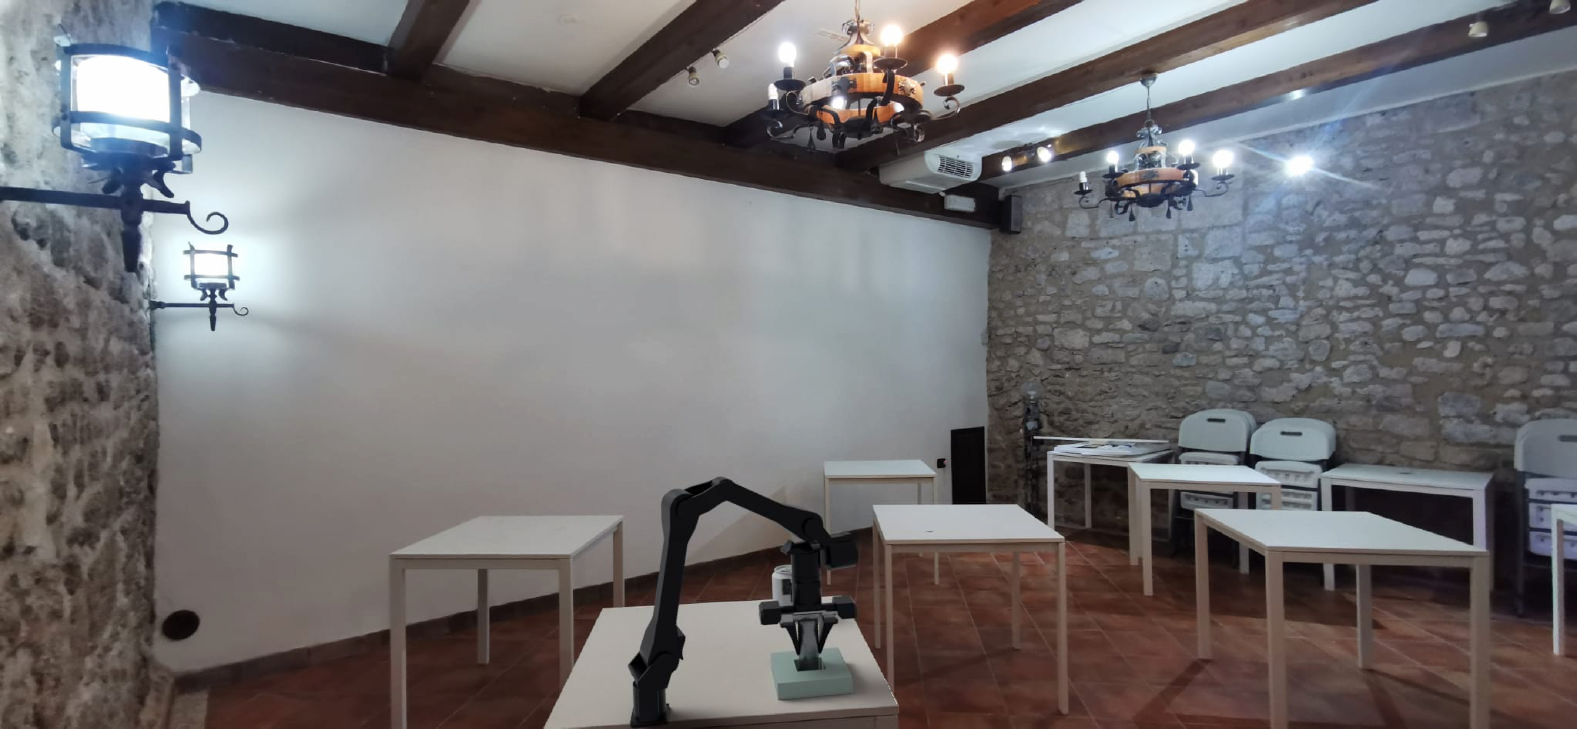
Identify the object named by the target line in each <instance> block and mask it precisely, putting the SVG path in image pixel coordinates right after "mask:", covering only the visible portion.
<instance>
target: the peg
mask: <svg viewBox="0 0 1577 729" xmlns="http://www.w3.org/2000/svg"><path fill="white" fill-rule="evenodd" d="M796 621H797V637H798V644H799V671H812V670H820V667H819V637H818V636H819V616H817V615H816V614H810V615H801V616H799V617H798V618H797V620H796Z"/></svg>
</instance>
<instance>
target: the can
mask: <svg viewBox="0 0 1577 729" xmlns="http://www.w3.org/2000/svg"><path fill="white" fill-rule="evenodd" d="M773 570H774V572H773V573H772V575H771V583H772V585H771V586H772V587H771V589H772V601H778V602H779V605H780V606H791V605H793V603H791V599H790V595H782V591H781V579H791V583H792V571H791V564H784V565H779V566H776V567H775V568H774V569H773ZM799 616H801V615H797V616H794V621H795V622H796V621H797V618H798V617H799Z"/></svg>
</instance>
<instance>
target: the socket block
mask: <svg viewBox="0 0 1577 729" xmlns="http://www.w3.org/2000/svg"><path fill="white" fill-rule="evenodd" d="M819 667H820V670H812V671H799V656H797V654H796V651H795V650H789V651H779V652H778V651H777V652H770V670H771V675H772V677H773V678H772V679H773V683H774V688H775V691H776V692H775V693H776V696H777V700H778V701H779V700H780V701H781V700H791V699H801V698H813V697H814V698H815V697H821V696H822V697H823V696H834V695H844V694H853V693H854V690H853V687H854V686H853V675H852V673H851V672H850V670H849V668H848V665H847V663H846V661H845V659H844V656H843V654H842V652H841V650H840V648H839V647H828V648H827V647H826V648H825V647H823V650H822V653H821V654H819Z"/></svg>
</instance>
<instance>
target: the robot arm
mask: <svg viewBox="0 0 1577 729" xmlns="http://www.w3.org/2000/svg"><path fill="white" fill-rule="evenodd" d="M725 502H729V503H731V504H733V505H736V506H738V507H739V508H742V509H745V510H747V511H749V512H752V513H754V514H757V515H759V516H761V517H763V518H766V519H768V520H770V521H772V522H774V523H775V524H776V525H778V526H779V527H780V528H781V529H784V530H785V531H786V532H788V533H789V534H790V535H792V536H794V537H796V538H798V539H800V540H801V541H799V542H794V541H793V540H791V539H787V541H786V543H784V544H783V545H781V547H780V548H779V550H780V552H781V553H783V554H785V555H786V556H790V565H791V571H792V583H791V579H781V591H782V595H790V599H791V603H793V605H791V606H780V605H779V602H778V601H773V600H767V601H760V603H759V604H758V617H759V618H758V619H759V621H760V622H759V623H760V625H762V626H771V625H775V626H776V625H778V624H779V626H780V628H781V629H786V631H787V633H788V635H789V637H790V639H791V641H792V645H793V648H794V651H796V654H797V656H799V644H798V629H797V624H796V620H795V621H794V616H797V615H810V614H811V615H818V637H819V654H821V653H822V650H823V649H824V648H825V644H826V642H827V639H828V636H829V634H830V632H831V630H832V628H833V627H834V625H837V624H839V619H838V618H840V619H841V620H850V619H856V618H858V607H857V604H856V602H855V600H854V598H852V596H851V595H837V596H832V599H831V602H823V599H822V598H823V597H822V574H821V573H822V570H821V569H822V568H821V567H824V568H825V570H827V571H828V572H829V571H834V570H842V569H846V568H854V567H856V566H857V565H858V563H859V557H860V556H859V551H858V548H857V545H856V542H855V541H854V539H853V533H850V532H849V531H844V532H840V533H838V534H837V533H836V534H830V533H829V532H828V531H827V529H826V528H825V527H824V521H823V517H822V516H821V515H820V514H819V513H818V512H815V511H813V510H810V509H808V508H804V507H802V506H797V505H794V504H793V505H792V504H789V503H783V502H778V501H776V500H774V499H771V498H769V497H767V496H765V495H762V494H761V493H758V492H755V491H754V490H751V489H749V488H747V487H745V486H742V485H740V484H738V483H736V482H734V480H732V479H731V478H728V477H725V476H722V475H721V476H717V477H715V478H713V479H710V480H708V481H705V482H701V483H698V484H694V485H691V486H689V487H685V488H684V489H682V488H673V489H670V490H669V491H667V492H666V493H665V494H664V495H663V497H662V499H661V502H660V510H661V511H660V512H661V514H660V515H661V516H660V517H661V518H660V520H661V528H662V533H663V534H662V535H663V543H662V549H661V550H662V551H661V558H660V563H659V564H660V565H659V569H658V570H659V571H658V576H657V577H658V578H657V586H656V591H655V599H654V607H653V611H652V612H653V613H652V617H651V619H650V622H649V623H648V624H647V627H646V628H645V630H644V634H643V638H642V640H641V643H640V645H639V650H638V652H637V653H636V654H635V656H633V658H632V659H631V660H630V661H629V663H628V664H627V667H628V670H629V672H630V675H631V676H632V678H633V681H632V700H633V701H632V704H633V705H632V710H631V716H630V720H629V721H630V722H629V726H630V727H639V726H650V725H651V726H652V725H660V724H661V725H662V724H667V723H668V722H669V715H670V703H669V702H668V703H667V692H666V690H667V689H668V687H669V684H670V682H671V681H670V680H671V677H672V674H673V673H675V671H677V670H678V668H679V665H680V660H681V661H683V660H684V655H683V652H684V651H683V649H684V646H685V643H686V638H687V637H686V635H685V633H683V631H682V630H681V629H680V627H679V625H678V624H677V623H678V622H677V621H678V614H679V608H680V600H681V593H682V587H683V579H684V572H685V565H686V558H687V551H688V546H689V542H690V540H691V538H692V537H693V534H694V533H695V531H696V528H697V525H698V523H699V519H700V517H701V516H702V515H704V514H706V513H709V512H711V511H713V510H714V509H715V508H717V507H718V506H720V505H721V504H723V503H725ZM813 542H815V543H814V544H810V543H813ZM837 616H838V617H837Z"/></svg>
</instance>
